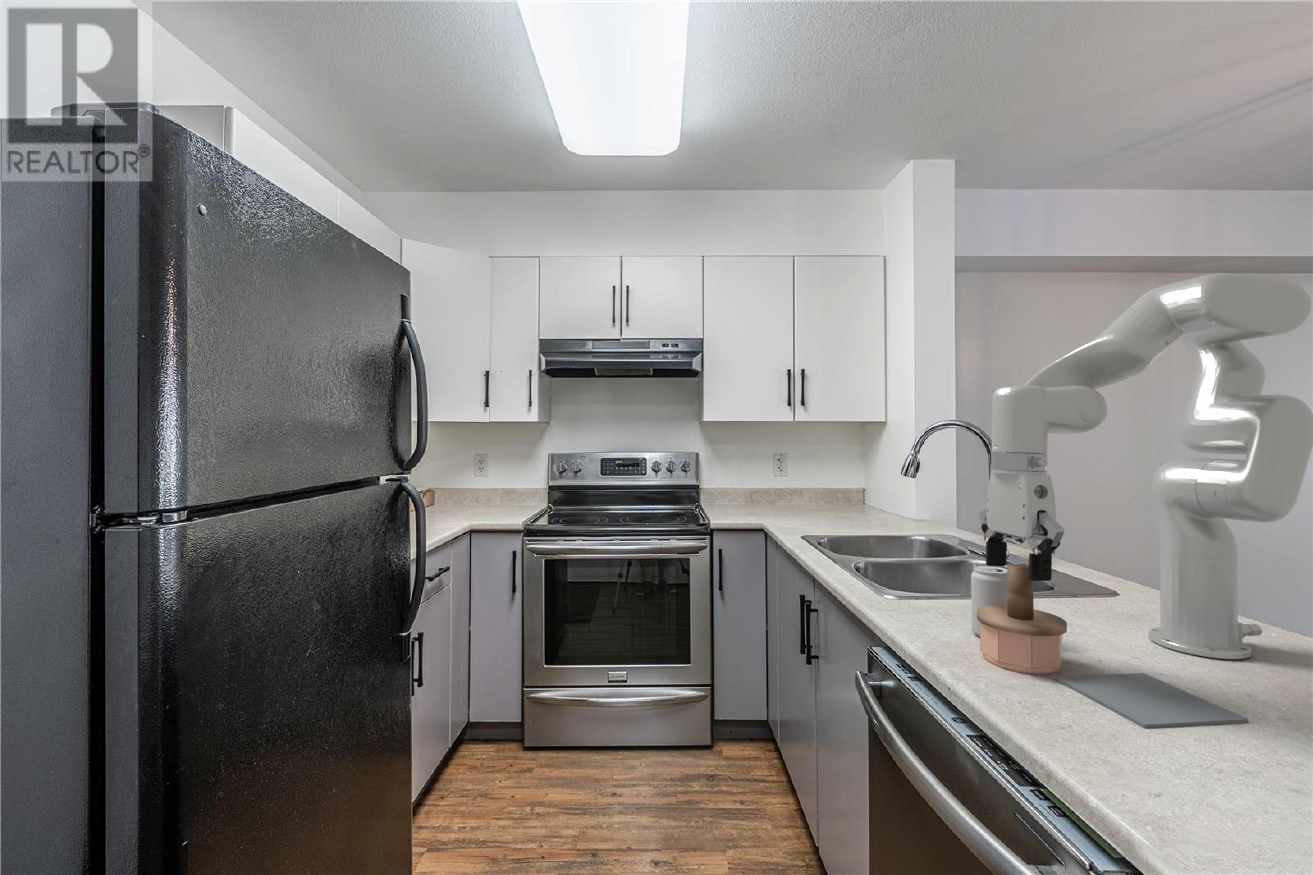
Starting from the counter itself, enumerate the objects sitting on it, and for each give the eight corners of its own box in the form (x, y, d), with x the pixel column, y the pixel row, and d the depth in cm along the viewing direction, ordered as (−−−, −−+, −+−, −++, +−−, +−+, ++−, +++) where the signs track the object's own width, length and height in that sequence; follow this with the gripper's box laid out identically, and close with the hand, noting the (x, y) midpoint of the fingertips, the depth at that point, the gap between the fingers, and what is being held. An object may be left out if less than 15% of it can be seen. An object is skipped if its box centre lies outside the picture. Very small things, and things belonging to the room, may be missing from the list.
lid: (1028, 610, 97) (1028, 557, 97) (1087, 634, 85) (1087, 574, 85) (960, 612, 96) (960, 559, 96) (1011, 637, 84) (1010, 576, 84)
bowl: (1027, 647, 96) (1027, 611, 96) (1078, 673, 86) (1078, 633, 86) (968, 649, 96) (968, 613, 96) (1012, 676, 85) (1012, 635, 85)
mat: (1143, 675, 85) (1143, 673, 85) (1248, 722, 71) (1248, 719, 71) (1054, 679, 84) (1054, 676, 84) (1144, 727, 70) (1144, 724, 70)
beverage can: (1019, 644, 98) (1019, 573, 98) (978, 641, 99) (978, 572, 99) (1004, 631, 104) (1004, 565, 104) (966, 629, 106) (966, 564, 106)
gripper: (1086, 467, 82) (1084, 586, 82) (1003, 462, 100) (1001, 561, 100) (1037, 466, 82) (1035, 587, 82) (962, 461, 99) (960, 561, 99)
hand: (1016, 572), depth 91 cm, fingers open, 9 cm apart
